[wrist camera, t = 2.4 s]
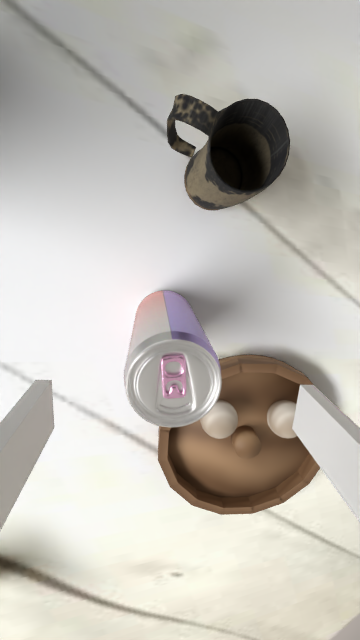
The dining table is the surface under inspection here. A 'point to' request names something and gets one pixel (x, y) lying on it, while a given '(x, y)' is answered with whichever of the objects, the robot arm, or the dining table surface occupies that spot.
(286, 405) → the bead
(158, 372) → the beverage can
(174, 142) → the mug
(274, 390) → the tray
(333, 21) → the dining table surface
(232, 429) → the bead
